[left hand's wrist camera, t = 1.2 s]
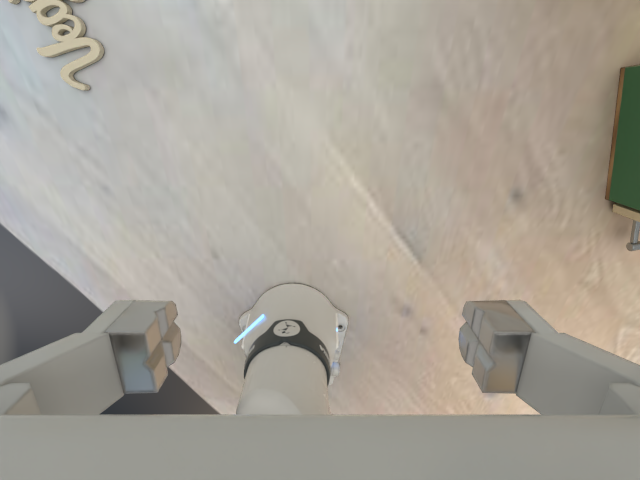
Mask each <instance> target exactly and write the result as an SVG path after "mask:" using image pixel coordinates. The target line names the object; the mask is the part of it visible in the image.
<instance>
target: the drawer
mask: <svg viewBox="0 0 640 480" xmlns="http://www.w3.org/2000/svg"><path fill="white" fill-rule="evenodd" d="M612 212H614V213H617V214H620V215H622V216H625V217H628V218H630V219H633V226H632V233H631V239H630V243H627V245H626V247H627V249H628V250H629V251H635V250H640V241H638V235H639V228H640V210H637V209H634V208H631V207H628V206H625V205H622V204H613V211H612Z"/></svg>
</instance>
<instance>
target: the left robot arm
mask: <svg viewBox="0 0 640 480" xmlns="http://www.w3.org/2000/svg"><path fill="white" fill-rule="evenodd" d="M177 315H178V313H177V309H176V304H175V303H174V302H173V301H149V300H137V301H136V300H119V301H115V302H114V303H113V304H112V305H111V306H110V307H109V308H108V309H106V310H105V311H104V312H103V313H102V314H101V315H100V316H99V317H98V318H97V319H96V320H95V321H94V322H93V323H92V324H91V325H90V326H89V327H88V328H86V329H85V330H84V331H83V332H82V333H75V334H72V335H70V336H68V337H65V338H63V339H61V340H58V341H56V342H54V343H51V344H49V345H47V346H44V347H42V348H40V349H37V350H35V351H33V352H30V353H28V354H25V355H23V356H21V357H18V358H16V359H14V360H11V361H9V362H7V363H4V364H2V365H0V480H640V365H638V364H636V363H633V362H631V361H629V360H626V359H624V358H621V357H619V356H617V355H614V354H612V353H610V352H607V351H605V350H603V349H600V348H598V347H596V346H593V345H591V344H589V343H586V342H584V341H582V340H579V339H577V338H575V337H572V336H570V335H568V334H565V333H558V332H557V331H556V330H555V329H554V328H553V327H551V326H550V325H549V324H548V323H547V322H546V321H545V320H544V319H543V318H542V317H541V316H540V315H539V314H538V313H537V312H536V311H535V310H534V309H533V308H532V307H530V306H529V305H528V304H527V303H526V302H525V301H522V300H501V301H468V302H466V303H465V305H464V308H463V313H462V315H463V317H464V318H465V320H466V321H467V322H466V323H465V324H464V325H463V326H462V327H461V328H460V332H459V348H460V352H461V355H462V357H463V359H464V361H465V362H466V363H467V364H469V365H470V366H472V367H473V370H472V375H473V377H474V379H475V380H476V382H477V384H478V386H479V387H480V389H481V391H482V393H515V394H516V395H517V396H518V397H519V398H521V399H522V400H523V401H524V402H526V403H527V404H528V405H530V406H531V407H532V408H534V409H535V410H536V411H537V412H539V413H540V414H541V415H330V409H329V402H328V390H327V387H328V386H330V385H331V384H332V383H333V382H334V378H335V376H338V375H339V369H340V363H338V362H339V358H340V354H341V350H342V346H343V342H344V338H345V334H346V330H347V326H348V316H347V315H346V314H345V313H344V312H342V311H340V310H338V309H337V308H335V307H334V306H333V305H332V304H331V303H330V301H329V300H328V299H327V298H326V297H325V296H324V295H323V294H322V293H321V292H319V291H318V290H316V289H314V288H312V287H310V286H306V285H302V284H283V285H279V286H276V287H274V288H272V289H270V290H268V291H267V292H265V293H264V294H263V295H262V296H261V297H260V298H259V299H258V301H257V302H256V304H255V305H254V307H253V308H252V309H250V310H249V311H247V312H245V313H244V314H243V315H241V317H240V319H239V326H240V328H241V331H242V334H241V335H240V336H239V337H238V338H237V339H236V340H235V341H234V343H235V344H236V343H237V342H238V341H239V340H240V339H241V338H242V337H243V341H242V349H243V350H244V352H245V355H246V361H245V367H244V368H245V369H244V379H245V380H244V384H243V387H242V391H241V395H240V399H239V402H238V406H237V410H236V415H99V414H100V413H101V412H103V411H104V410H105V409H107V408H108V407H109V406H110V405H112V404H113V403H114V402H116V401H117V400H118V399H120V398H121V397H122V396H123V395H124V394H125V393H157V392H158V391H159V389H160V387H161V386H162V384H163V382H164V380H165V379H166V377H167V375H168V371H167V367H168V366H170V365H171V364H173V363H174V362H175V361H176V359H177V357H178V355H179V351H180V347H181V331H180V328H179V327H178V326H177V325H176V324H175V323H174V322H173V321H174V320H175V318H176V317H177ZM339 325H342V326H341V327H339Z"/></svg>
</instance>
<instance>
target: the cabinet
mask: <svg viewBox="0 0 640 480" xmlns="http://www.w3.org/2000/svg"><path fill="white" fill-rule="evenodd" d="M605 199H607V200H610V201H613V202H616V203H619V204H622V205H625V206H628V207H631V208H634V209H637V210H640V64H639V65H634V66H628V67H623V68H621V71H620V80H619V88H618V96H617V105H616V113H615V121H614V130H613V138H612V147H611V155H610V163H609V172H608V180H607V188H606V197H605Z"/></svg>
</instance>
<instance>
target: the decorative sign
mask: <svg viewBox="0 0 640 480" xmlns="http://www.w3.org/2000/svg"><path fill="white" fill-rule="evenodd" d="M8 1H9V2H10V3H13V4H18V3H19V2H20V0H8ZM24 1H27V2H30V3H32V4H31V5H30V6H28V7H29V8H30V9H31V10H32V12H34V13H37V18H38V20H39V21H40V22H41V23H42V24H43V25H47V26H50V27H53V28H52V36H53V37H54V39H56V40H57V41H61V43H57V44H53V45H49V46H46V47H43V48H37V51H38V53H39V54H40V55H42V56H45V57H56V56H59V55H62V54H65V53H67V52H70V51H73V50H77V49H81V48H85V47H89V46H90V48H91V51H90V52H89V53H88V54H87V55H85V56H83V57H81V58H79V59H77V60H75V61H73V62H71V63H69V64H67V65H65V66H64V67H63V68H62V69H61V73H60V74H61V77H62V79H63V80H64V81H65V82H66V83H68V84H69V85H71V86H73V87H75V88H77V89H80V90H89V89H90V87H89V85H86V84H83V83H80V82H78V81H76V80H75V79H74V77H73V75H74V73H75V72H77V71H78V70H81V69H83V68H85V67H87V66H89V65H91V64H93V63H95V62H97V61H99V60H100V59H101V58H102V56H103V54H104V48H103V46H102V45H101V43H100V42H99V41H97V40H95V39H91V38H87V37H83V36H84V34H85V32H86V26H85V24H84V22H83V21H82V20H81V19H80V18H78V17H76V16H73V15H72V9H71V7H70V6H69V5H68V4H67V3H65V2H62V1H63V0H24ZM69 1H72V2H76V3H81V2H84V1H85V0H69ZM55 7H60V10H59V12H58V13H57V14H55V15H54V16H52V17H47V16H46V12H47V11H49V10H50V9H52V8H55ZM67 20H72V21H74V24H75V26H74V28H73V27H71V26H68V25H64V24H63V23H64V22H66V21H67ZM65 31H70V33H69V34H67V35H65V36H63V33H64V32H65Z"/></svg>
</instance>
